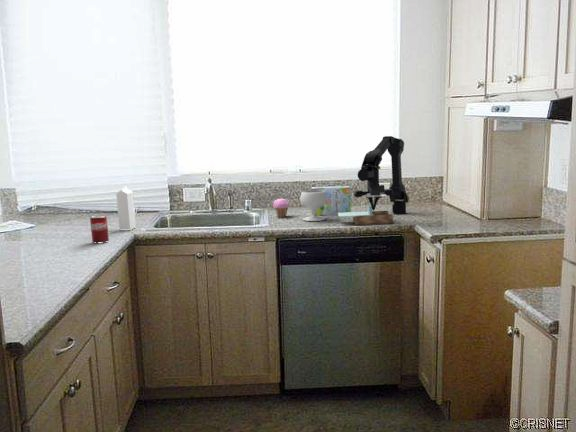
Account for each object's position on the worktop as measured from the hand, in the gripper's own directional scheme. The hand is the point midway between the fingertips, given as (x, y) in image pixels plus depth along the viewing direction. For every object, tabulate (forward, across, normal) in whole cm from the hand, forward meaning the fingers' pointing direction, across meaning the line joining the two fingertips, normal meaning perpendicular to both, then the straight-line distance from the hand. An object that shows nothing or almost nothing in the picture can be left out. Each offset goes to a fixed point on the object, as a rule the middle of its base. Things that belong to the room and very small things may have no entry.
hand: (373, 210), depth 291 cm
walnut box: (+6, -1, 0) cm, 6 cm away
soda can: (+7, -129, -22) cm, 131 cm away
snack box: (+6, -18, +29) cm, 35 cm away
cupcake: (+6, -46, +27) cm, 53 cm away
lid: (+2, -9, 0) cm, 9 cm away
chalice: (+6, -28, +14) cm, 32 cm away
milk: (+6, -124, +7) cm, 124 cm away
